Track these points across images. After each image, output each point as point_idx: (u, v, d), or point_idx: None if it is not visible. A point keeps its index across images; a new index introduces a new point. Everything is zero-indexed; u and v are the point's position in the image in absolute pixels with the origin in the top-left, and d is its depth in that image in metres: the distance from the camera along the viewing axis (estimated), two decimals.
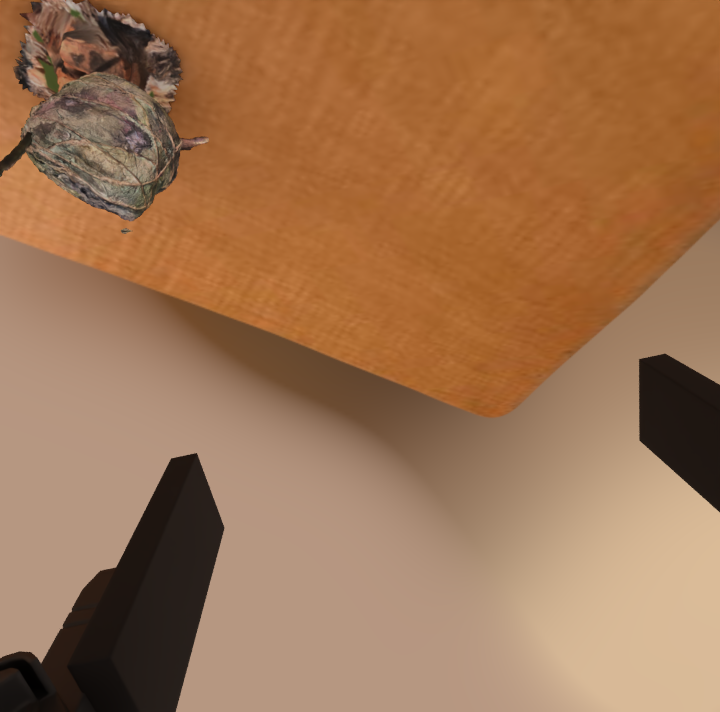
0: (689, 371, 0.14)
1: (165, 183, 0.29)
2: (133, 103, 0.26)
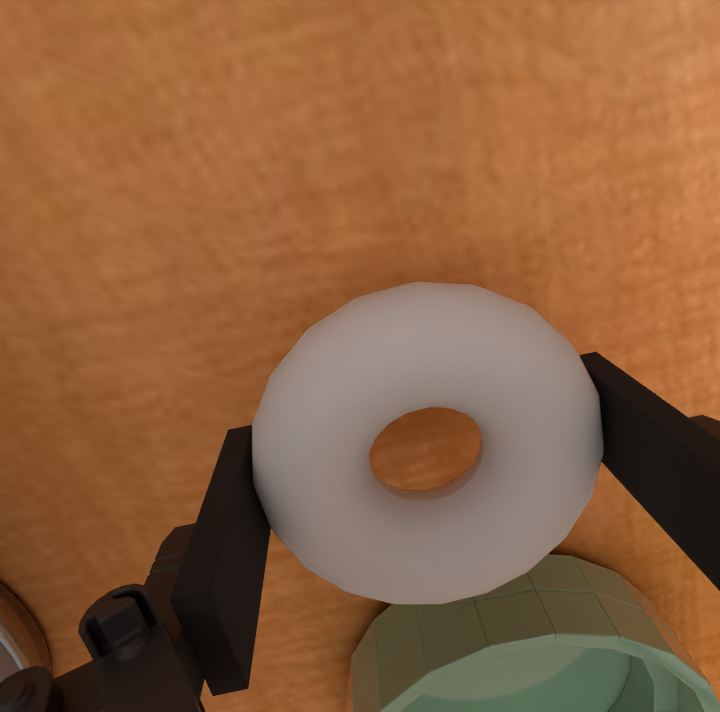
0: (612, 368, 0.15)
1: None
2: None
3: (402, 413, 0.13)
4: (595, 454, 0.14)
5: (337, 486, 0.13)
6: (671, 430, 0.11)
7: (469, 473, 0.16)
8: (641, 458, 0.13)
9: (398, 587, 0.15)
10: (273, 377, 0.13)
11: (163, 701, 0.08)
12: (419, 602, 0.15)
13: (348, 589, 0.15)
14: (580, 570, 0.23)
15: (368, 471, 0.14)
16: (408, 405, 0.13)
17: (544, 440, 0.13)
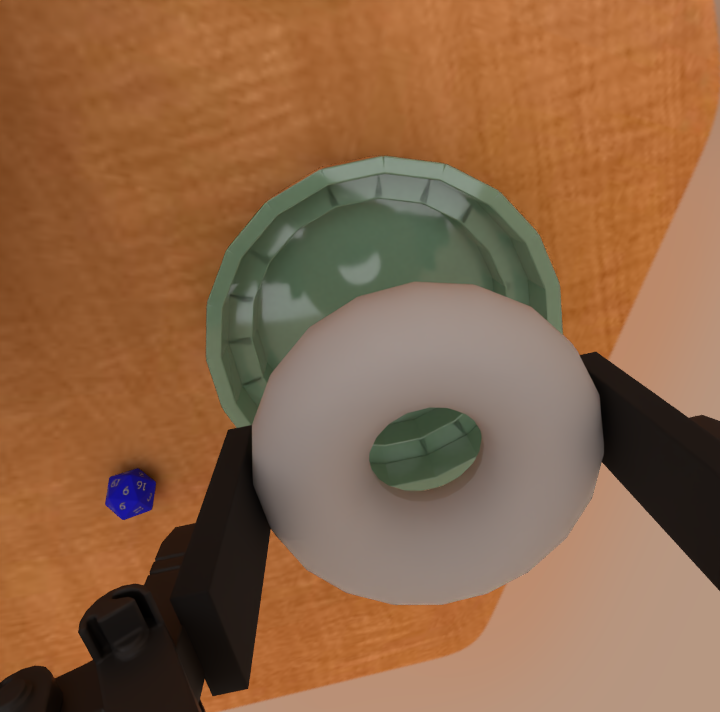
0: (613, 368, 0.15)
1: None
2: None
3: (402, 413, 0.13)
4: (595, 454, 0.14)
5: (337, 487, 0.13)
6: (671, 430, 0.11)
7: (469, 473, 0.16)
8: (640, 458, 0.13)
9: (398, 588, 0.14)
10: (273, 377, 0.13)
11: (163, 701, 0.08)
12: (419, 603, 0.15)
13: (348, 590, 0.15)
14: None
15: (368, 471, 0.14)
16: (408, 405, 0.13)
17: (544, 441, 0.13)
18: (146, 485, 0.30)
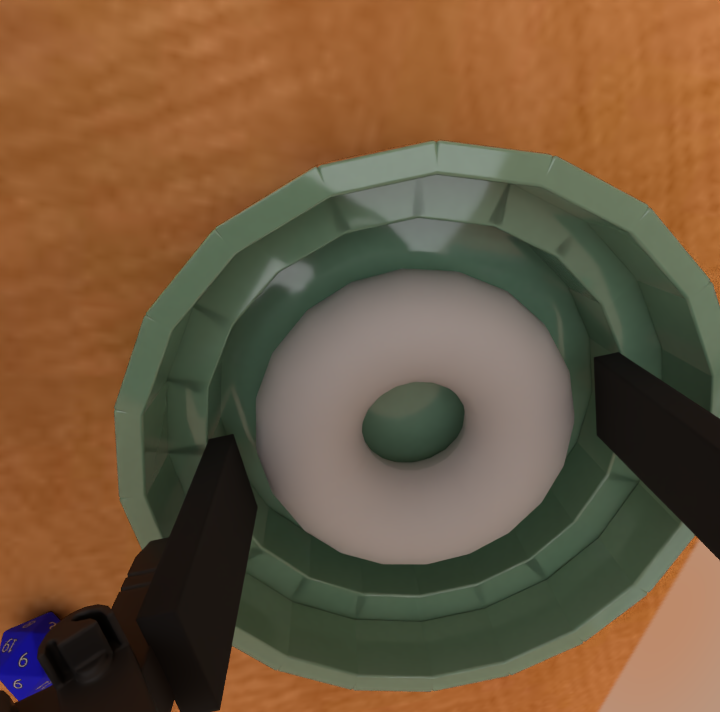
0: (637, 368, 0.14)
1: None
2: None
3: (391, 386, 0.15)
4: (565, 424, 0.15)
5: (332, 453, 0.15)
6: (705, 433, 0.11)
7: (453, 445, 0.17)
8: (670, 461, 0.12)
9: (388, 547, 0.16)
10: (275, 354, 0.15)
11: None
12: (407, 561, 0.17)
13: (343, 549, 0.16)
14: None
15: (361, 441, 0.16)
16: (396, 378, 0.14)
17: (518, 411, 0.15)
18: None
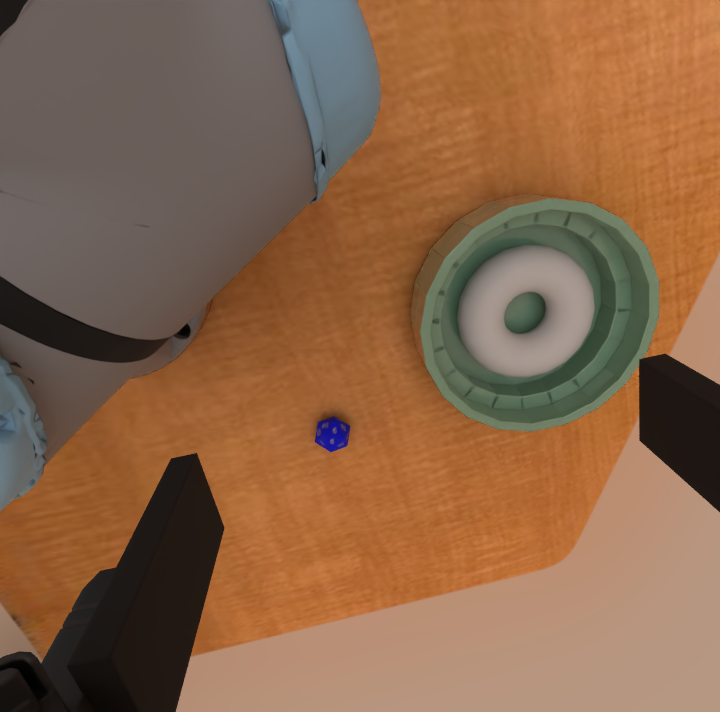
0: (689, 371, 0.14)
1: None
2: None
3: (521, 292, 0.36)
4: (591, 309, 0.37)
5: (496, 319, 0.36)
6: None
7: (540, 324, 0.39)
8: None
9: (515, 364, 0.37)
10: (472, 279, 0.36)
11: None
12: (521, 372, 0.38)
13: (494, 366, 0.38)
14: None
15: (503, 318, 0.37)
16: (524, 287, 0.36)
17: (572, 301, 0.36)
18: (345, 427, 0.41)
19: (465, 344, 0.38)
